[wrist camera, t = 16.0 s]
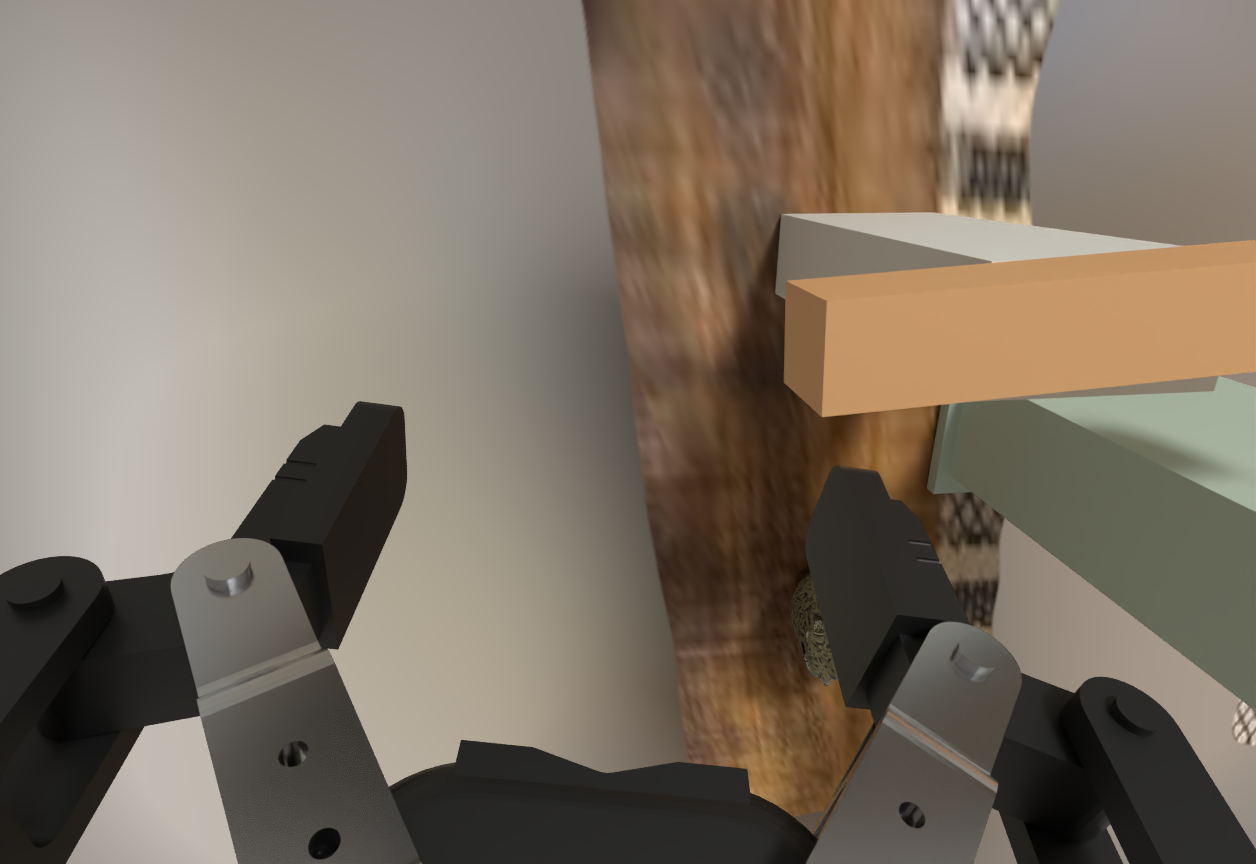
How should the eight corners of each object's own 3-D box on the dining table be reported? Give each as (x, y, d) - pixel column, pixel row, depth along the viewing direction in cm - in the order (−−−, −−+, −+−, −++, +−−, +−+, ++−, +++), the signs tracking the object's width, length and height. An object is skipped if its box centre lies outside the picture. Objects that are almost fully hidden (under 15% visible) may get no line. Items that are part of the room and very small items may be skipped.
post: (781, 214, 44) (991, 261, 23) (931, 212, 45) (1257, 255, 24) (775, 293, 45) (965, 401, 25) (919, 290, 46) (1213, 391, 26)
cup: (874, 547, 54) (928, 609, 46) (841, 624, 56) (886, 695, 49) (787, 531, 52) (827, 592, 45) (756, 611, 55) (790, 682, 47)
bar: (786, 280, 23) (826, 300, 19) (1488, 219, 25) (1629, 228, 22) (783, 382, 24) (822, 416, 21) (1451, 315, 26) (1580, 337, 23)
